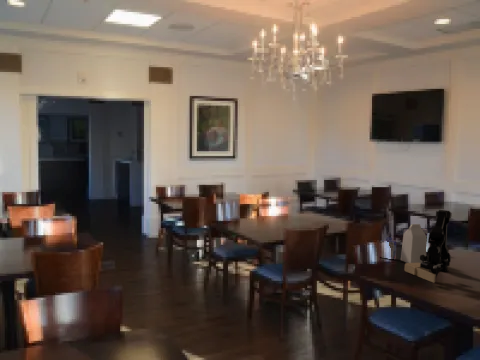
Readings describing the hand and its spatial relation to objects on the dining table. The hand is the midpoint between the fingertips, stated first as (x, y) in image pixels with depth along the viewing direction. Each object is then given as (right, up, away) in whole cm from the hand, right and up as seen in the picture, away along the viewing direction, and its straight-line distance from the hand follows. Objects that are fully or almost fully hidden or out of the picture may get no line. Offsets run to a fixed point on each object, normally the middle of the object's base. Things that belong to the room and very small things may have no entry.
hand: (434, 278), depth 270 cm
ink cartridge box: (-11, +3, +52) cm, 53 cm away
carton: (-4, 0, +17) cm, 17 cm away
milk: (+4, +2, +45) cm, 45 cm away
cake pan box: (+15, +3, +72) cm, 74 cm away
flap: (-4, -1, +3) cm, 5 cm away
